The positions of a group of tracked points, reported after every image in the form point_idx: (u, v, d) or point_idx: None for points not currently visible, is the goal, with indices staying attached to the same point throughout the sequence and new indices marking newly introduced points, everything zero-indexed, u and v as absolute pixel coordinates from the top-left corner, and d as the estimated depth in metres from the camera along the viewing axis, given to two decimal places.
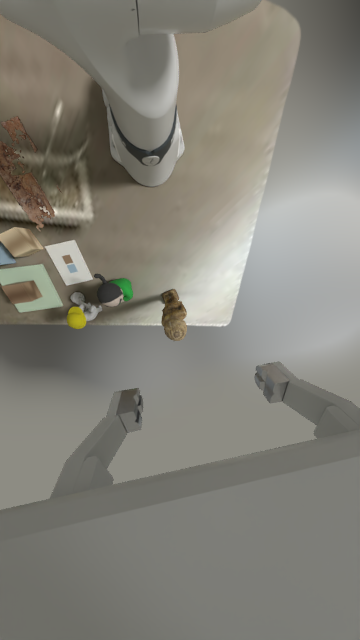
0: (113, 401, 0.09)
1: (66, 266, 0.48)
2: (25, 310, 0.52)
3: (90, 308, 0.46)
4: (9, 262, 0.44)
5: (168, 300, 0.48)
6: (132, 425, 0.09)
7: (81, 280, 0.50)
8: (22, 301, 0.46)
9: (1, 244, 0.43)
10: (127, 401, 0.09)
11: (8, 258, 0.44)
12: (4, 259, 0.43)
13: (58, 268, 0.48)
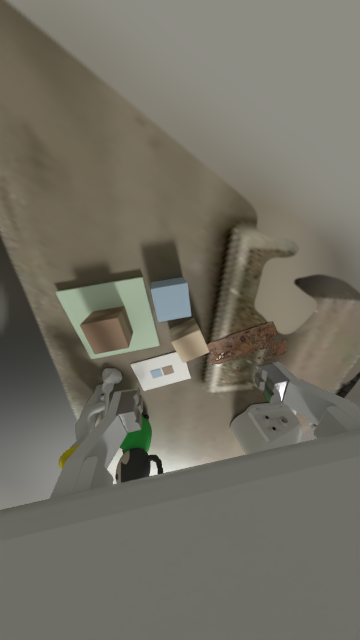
0: (113, 401, 0.09)
1: (158, 368, 0.35)
2: (64, 304, 0.25)
3: None
4: None
5: None
6: (132, 425, 0.09)
7: (141, 381, 0.36)
8: (90, 341, 0.23)
9: None
10: (127, 401, 0.09)
11: None
12: None
13: (155, 359, 0.33)
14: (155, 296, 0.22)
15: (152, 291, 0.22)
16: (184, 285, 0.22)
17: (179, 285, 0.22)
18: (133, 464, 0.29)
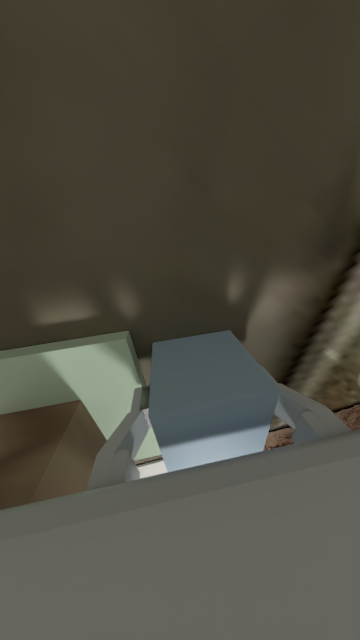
0: (135, 397, 0.09)
1: None
2: None
3: None
4: None
5: None
6: None
7: None
8: None
9: None
10: None
11: None
12: None
13: (153, 465, 0.17)
14: (163, 431, 0.06)
15: (155, 420, 0.06)
16: (269, 397, 0.06)
17: (252, 398, 0.06)
18: None
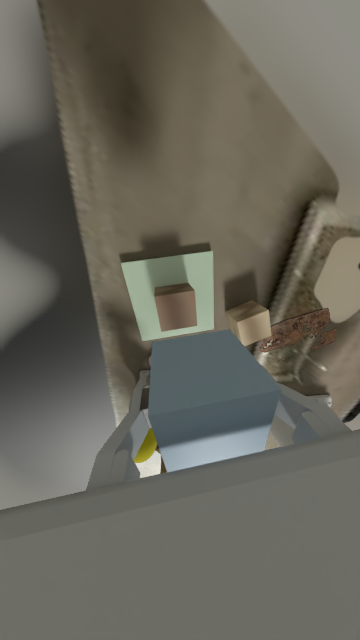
0: (135, 397, 0.09)
1: None
2: (127, 277, 0.23)
3: None
4: None
5: None
6: None
7: None
8: (161, 316, 0.21)
9: None
10: None
11: None
12: None
13: None
14: (163, 431, 0.06)
15: (154, 420, 0.06)
16: (269, 397, 0.06)
17: (252, 398, 0.06)
18: None
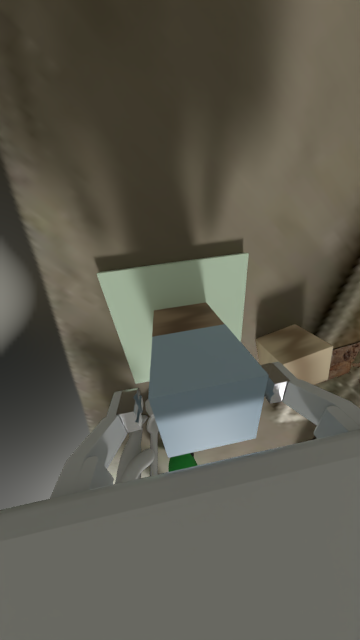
0: (113, 401, 0.09)
1: None
2: (109, 296, 0.14)
3: None
4: None
5: None
6: (132, 425, 0.09)
7: None
8: None
9: None
10: (127, 401, 0.09)
11: None
12: None
13: None
14: (163, 413, 0.07)
15: (154, 403, 0.07)
16: (258, 382, 0.07)
17: (242, 382, 0.07)
18: None
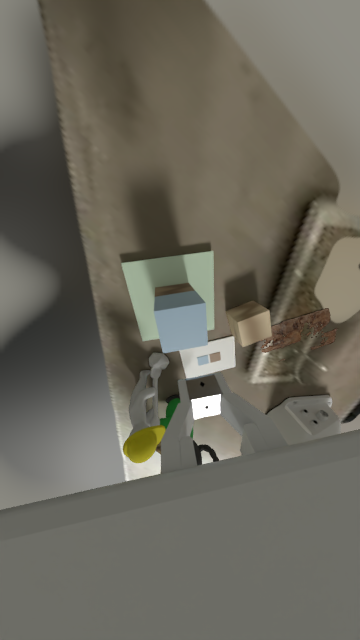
0: (181, 388, 0.09)
1: (206, 354, 0.33)
2: (128, 277, 0.23)
3: (156, 423, 0.27)
4: None
5: None
6: (201, 411, 0.09)
7: (186, 368, 0.34)
8: None
9: None
10: (195, 388, 0.09)
11: None
12: None
13: None
14: (160, 321, 0.16)
15: (156, 314, 0.16)
16: (201, 306, 0.16)
17: (194, 306, 0.16)
18: None
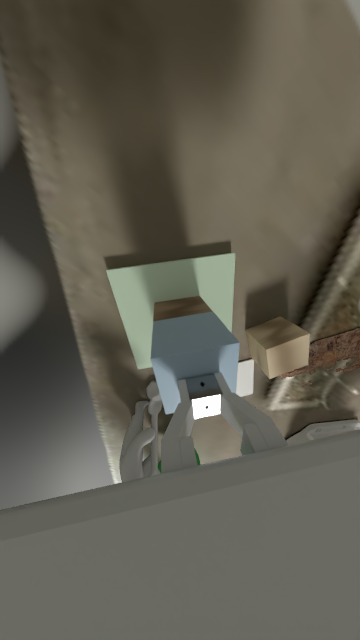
0: (181, 388, 0.09)
1: None
2: (116, 289, 0.17)
3: None
4: None
5: None
6: (201, 411, 0.09)
7: None
8: None
9: None
10: (195, 388, 0.09)
11: None
12: None
13: None
14: (161, 372, 0.09)
15: (154, 363, 0.09)
16: (232, 348, 0.09)
17: (220, 348, 0.09)
18: None
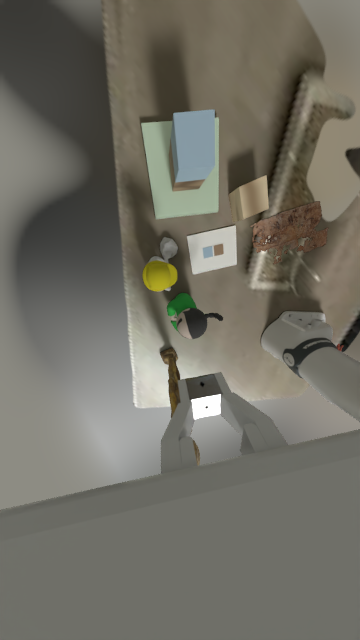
0: (181, 388, 0.09)
1: (210, 245, 0.37)
2: (146, 140, 0.27)
3: None
4: (178, 177, 0.24)
5: (176, 372, 0.42)
6: (201, 411, 0.09)
7: (192, 260, 0.38)
8: None
9: (205, 176, 0.25)
10: (195, 388, 0.09)
11: (184, 177, 0.25)
12: (184, 174, 0.24)
13: (209, 233, 0.36)
14: (177, 126, 0.20)
15: (175, 117, 0.20)
16: (211, 114, 0.20)
17: (205, 112, 0.20)
18: (195, 310, 0.31)
